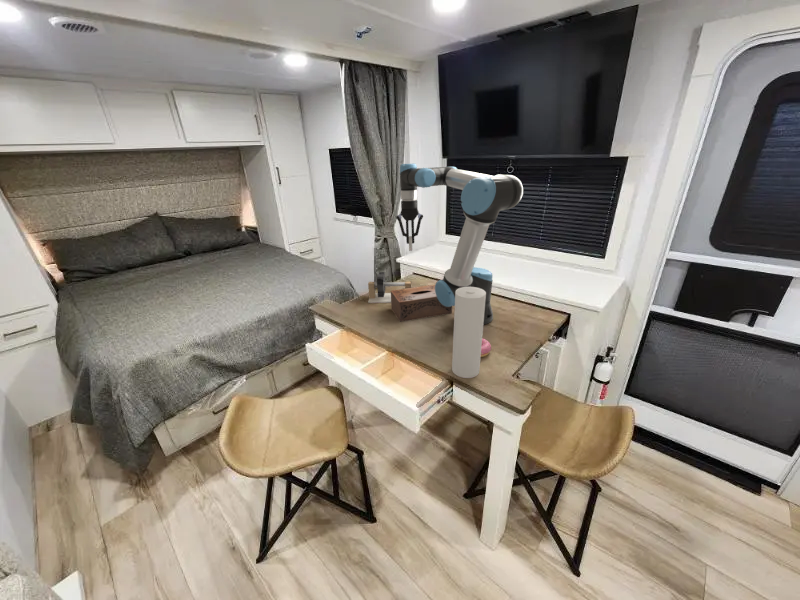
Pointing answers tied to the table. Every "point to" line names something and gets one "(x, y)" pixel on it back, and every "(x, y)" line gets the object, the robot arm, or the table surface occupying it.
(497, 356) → the table surface
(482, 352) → the doughnut
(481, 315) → the cylinder container
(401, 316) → the tissue box cover
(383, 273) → the collar
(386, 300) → the rail stand
